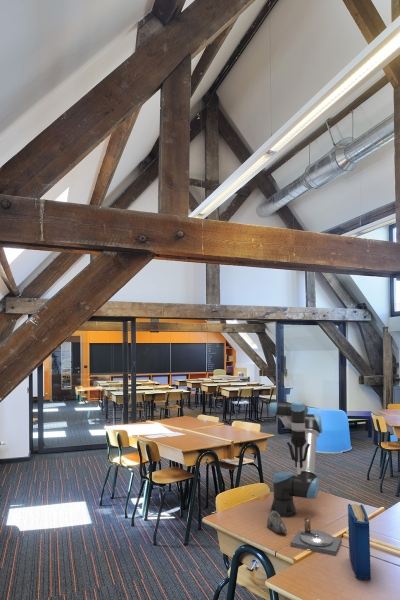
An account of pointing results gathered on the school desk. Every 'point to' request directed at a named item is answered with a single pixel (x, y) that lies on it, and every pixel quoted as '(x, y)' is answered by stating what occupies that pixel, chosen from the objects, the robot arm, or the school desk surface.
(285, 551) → the school desk surface
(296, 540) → the stand
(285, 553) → the school desk surface
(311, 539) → the crank wheel
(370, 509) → the school desk surface
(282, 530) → the mineral rock
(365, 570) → the book
